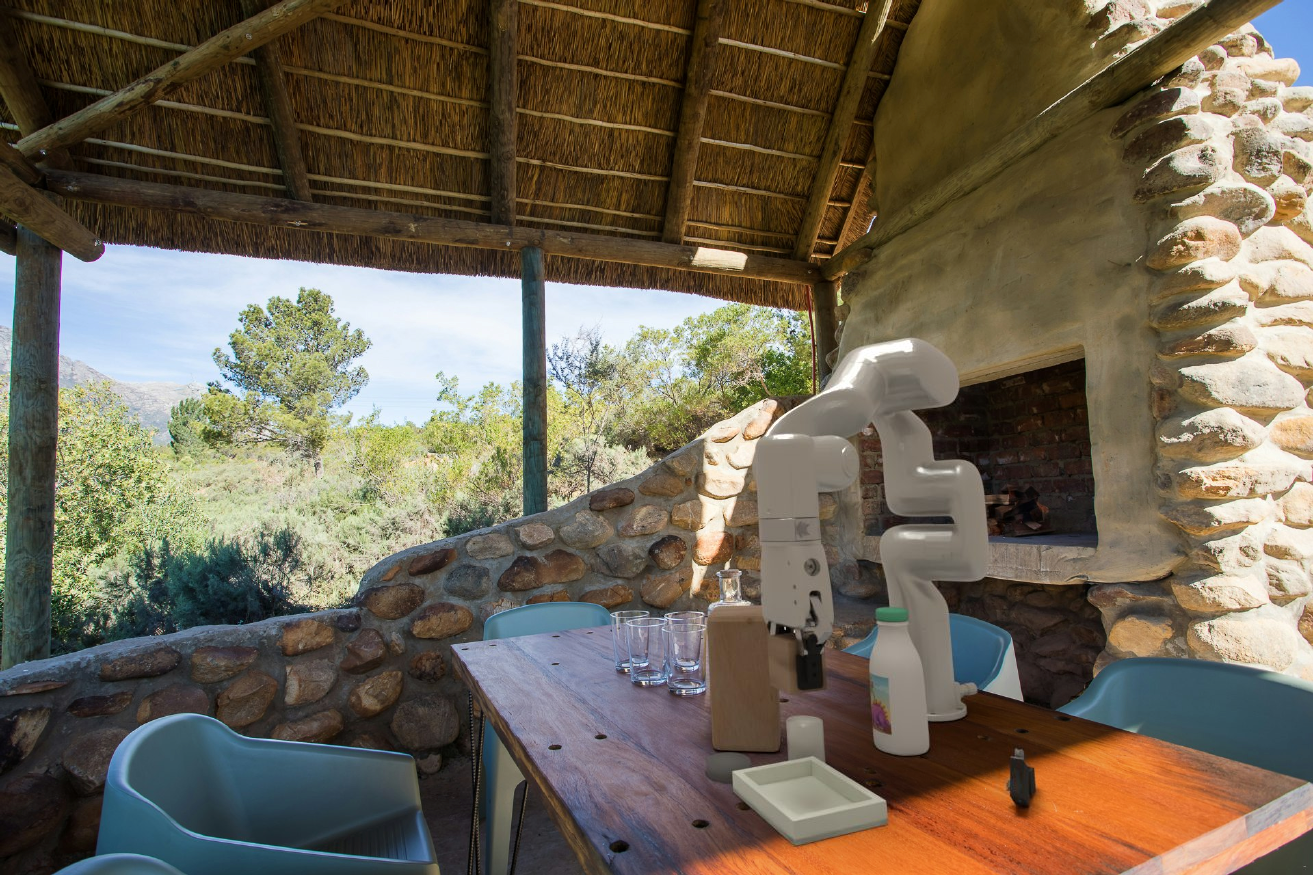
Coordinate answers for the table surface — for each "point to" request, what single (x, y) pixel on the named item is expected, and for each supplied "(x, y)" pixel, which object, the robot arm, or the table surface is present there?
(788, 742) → the white rounded cylinder
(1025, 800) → the lighter
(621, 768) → the table surface
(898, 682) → the milk bottle
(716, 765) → the gray rounded object
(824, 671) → the walnut block
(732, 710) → the wooden block
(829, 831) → the tray
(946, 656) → the robot arm
